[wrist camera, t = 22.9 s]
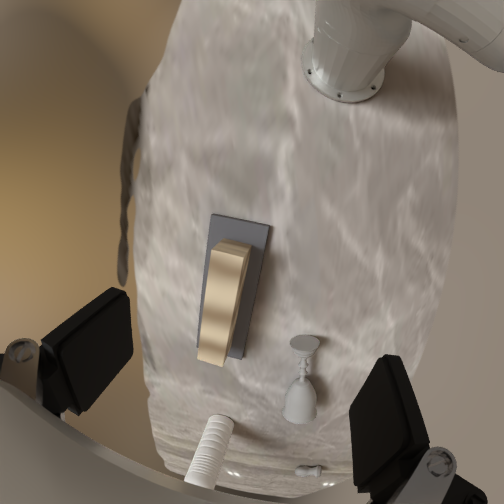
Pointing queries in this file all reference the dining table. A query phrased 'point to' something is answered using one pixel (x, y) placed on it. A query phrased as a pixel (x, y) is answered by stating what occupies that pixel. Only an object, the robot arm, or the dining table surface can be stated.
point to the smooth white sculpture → (308, 471)
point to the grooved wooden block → (222, 299)
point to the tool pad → (257, 238)
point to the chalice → (301, 384)
